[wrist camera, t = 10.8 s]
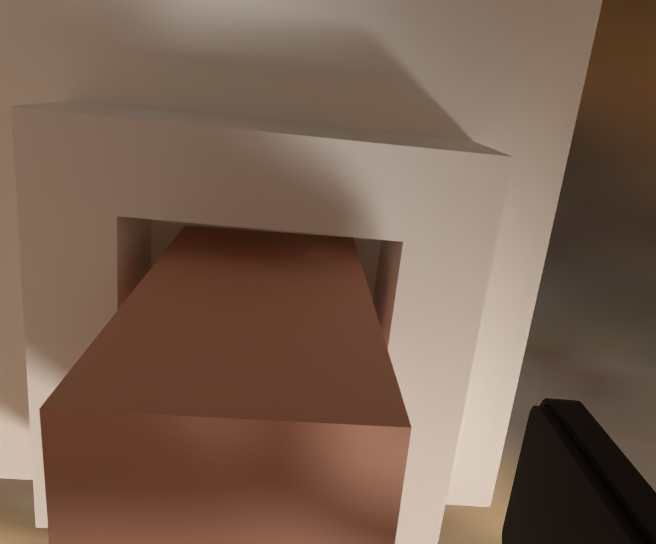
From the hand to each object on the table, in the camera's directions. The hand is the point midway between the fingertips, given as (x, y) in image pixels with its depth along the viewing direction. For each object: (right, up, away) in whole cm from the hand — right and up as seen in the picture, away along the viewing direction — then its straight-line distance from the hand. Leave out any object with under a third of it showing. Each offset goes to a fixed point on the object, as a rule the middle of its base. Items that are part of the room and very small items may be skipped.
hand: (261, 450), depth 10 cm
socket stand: (0, +6, +6) cm, 8 cm away
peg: (-1, +2, +6) cm, 6 cm away
